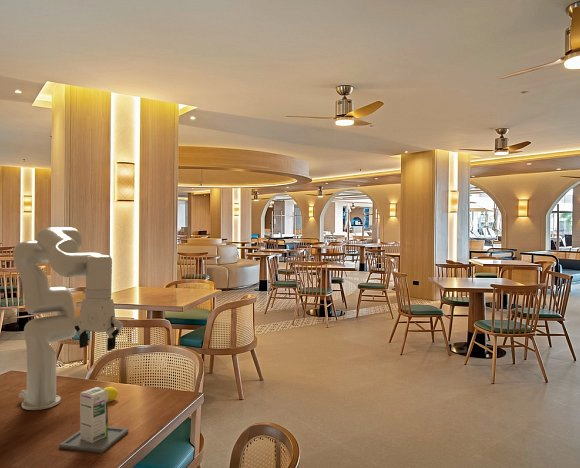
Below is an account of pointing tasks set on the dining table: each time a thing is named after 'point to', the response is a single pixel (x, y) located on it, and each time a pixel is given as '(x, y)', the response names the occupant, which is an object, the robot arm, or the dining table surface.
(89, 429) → the syrup box
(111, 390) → the lemon
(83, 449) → the slate tray
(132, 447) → the dining table surface
